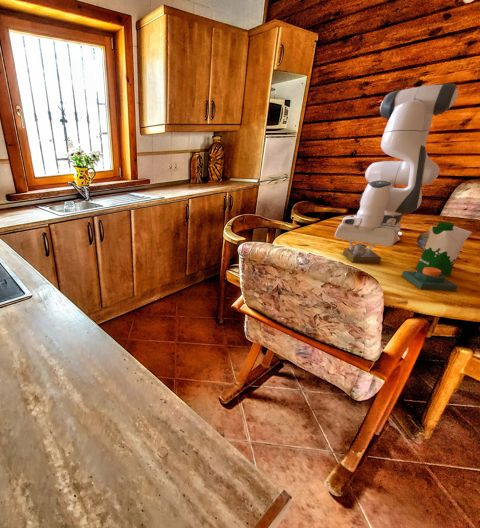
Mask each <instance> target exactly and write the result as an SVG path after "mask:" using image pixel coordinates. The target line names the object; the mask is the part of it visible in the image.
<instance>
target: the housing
mask: <svg viewBox="0 0 480 528" xmlns="http://www.w3.org/2000/svg"><path fill="white" fill-rule="evenodd" d="M422 272H423V269H420V270H418V269H416V270H403V271H402V273H401V277H402V278H404V279H406V280H407V281H408V282H410V283H411V284H413V285H414V286H415V287H417V288H418V289H419V290H428V291H429V290H430V291H444V292H445V291H446V292H456V291H457V290H458V289H457V288H458V284H456V283H454V282H452V281H450V280H449V279H447V278H446V276H445V275H444V274H442V273H440V276H439V277H436V276H429V275H426V274H423V273H422Z"/></svg>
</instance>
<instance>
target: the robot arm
mask: <svg viewBox="0 0 480 528" xmlns="http://www.w3.org/2000/svg"><path fill="white" fill-rule="evenodd" d="M458 95H459V89H458V86H457V85H456V83H450V82H447V83H446V82H445V83H443V84H426V85H420V86H416V87H415V86H414V87H410V88H405V89H401V90H400V89H398V90H394V91H391V92H388V94H386V95H385V97H384V99H383V100H382V101H381V103H380V106H379V113H380V116H381V117H382V118H383V119H386V120H387V123H386V125H385V127H384V132H383V133H382V137H381V142H380V148H381V150H382V152H383V153H384V154H386V155H388V156H390V157H393V158H395V159H397V160H384V161H376V162H372V163H371V164H370V165H369V166H368V167H367V169H366V170H365V173H364V177H365V180H366V182H368V183H367V184H366V186H365V189H364V191H363V192H362V193H361V195H360V198H359V202H358V203H359V209H358V210H357V212H356V214H353V215H352V214H351V215H346V216H344V217H343V218H342V219H341V223H339V225H338V227H337V228H336V230H335V233H334V238H335V239H337V240H345V241H348V245H349V249H350V250H353V251H354V247H355V245H353V243H354V242H357V243H362V244H369V245H370V247H369V248H368V247H366V250H365V253H369V252H370V250H371V251H372V249H374V248H375V246H383V247H389V248H390V247H392V246H394V245H395V243H397V242H399V241H401V238H400V237H399V236H400V235H402V232H401V229H402V228H401V227H402V224H401V223H400V222H401V220H402V218H403V215H408V214H410V213H413V212H415V211H417V210H418V209H419V208H420V206H421V204H422V201H423V193H422V188H423V186H428V185H430V184H432V183H433V182H434V181H436V180H437V178H438V176H439V175H440V167H439V165H438V164H437V163H436V162H435V161H433V160H432V159H431V158H430V157H429V156H428V153H427V147H426V146H427V141H428V136H429V133H430V129H431V126H432V122H433V118H434V116H435V117H437V116H438V115H440V114H444V113H446V112H448V110H450V108H451V107H453V105H454V104H455V102H456V100H457V98H458ZM395 186H407V187H403V188H402V187H395Z"/></svg>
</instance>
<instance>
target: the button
mask: <svg viewBox="0 0 480 528" xmlns="http://www.w3.org/2000/svg"><path fill="white" fill-rule="evenodd" d="M422 273H423V274H426V275H429V276H436V277H439V276H440V273H441V270H439V269H437V268H433V267H425V268H424V269H423V272H422Z"/></svg>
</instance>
